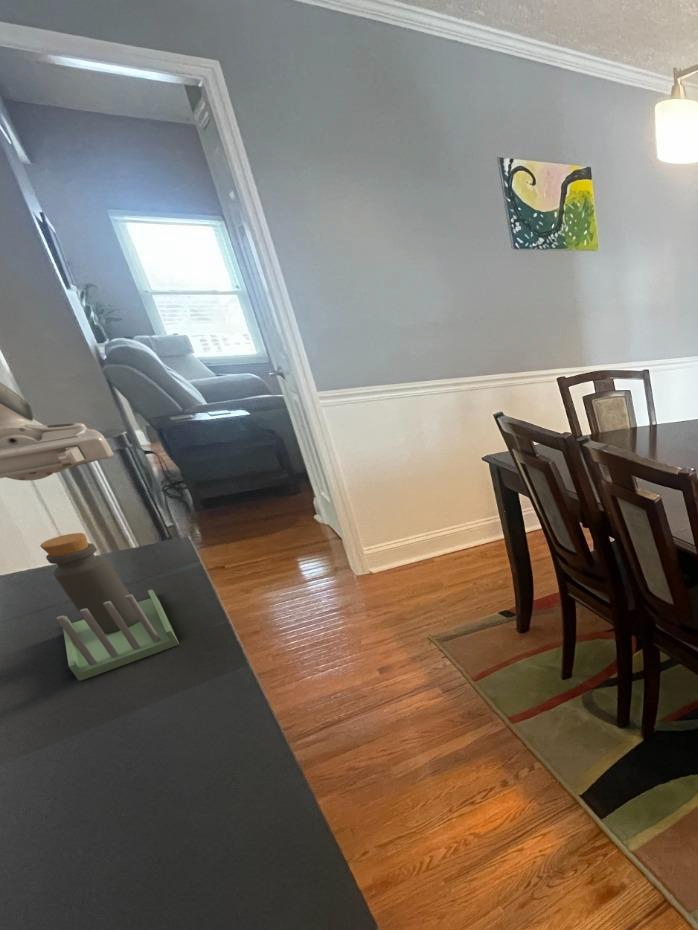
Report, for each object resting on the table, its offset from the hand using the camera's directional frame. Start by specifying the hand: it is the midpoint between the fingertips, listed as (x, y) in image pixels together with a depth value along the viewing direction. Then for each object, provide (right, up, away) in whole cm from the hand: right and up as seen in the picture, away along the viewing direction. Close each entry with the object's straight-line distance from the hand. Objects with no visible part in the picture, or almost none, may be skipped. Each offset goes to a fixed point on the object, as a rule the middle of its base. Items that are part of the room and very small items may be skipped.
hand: (22, 468), depth 90 cm
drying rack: (+12, -26, +3) cm, 29 cm away
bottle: (+10, -24, +4) cm, 27 cm away
